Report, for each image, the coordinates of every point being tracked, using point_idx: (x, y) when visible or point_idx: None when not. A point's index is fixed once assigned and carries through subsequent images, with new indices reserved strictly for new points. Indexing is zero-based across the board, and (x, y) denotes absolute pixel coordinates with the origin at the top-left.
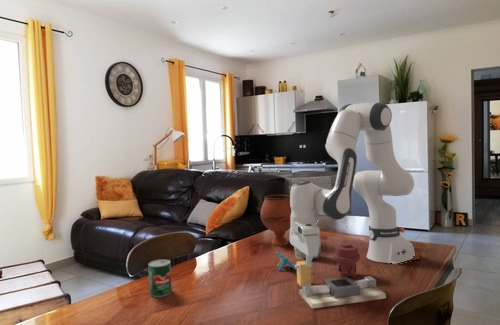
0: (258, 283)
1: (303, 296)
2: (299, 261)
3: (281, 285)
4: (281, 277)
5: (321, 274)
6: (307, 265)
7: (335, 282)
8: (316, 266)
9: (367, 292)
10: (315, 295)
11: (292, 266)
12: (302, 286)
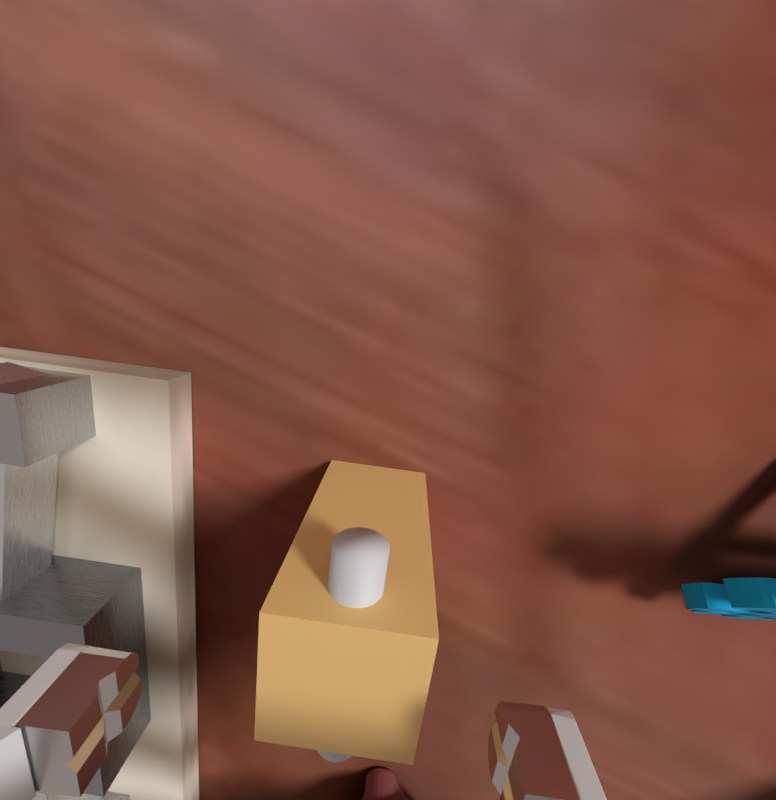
0: (601, 88)
1: (68, 361)
2: (416, 672)
3: (425, 313)
4: (612, 403)
5: (485, 700)
6: (55, 666)
7: None
8: (659, 754)
9: None
10: None
11: (694, 588)
12: (26, 389)
